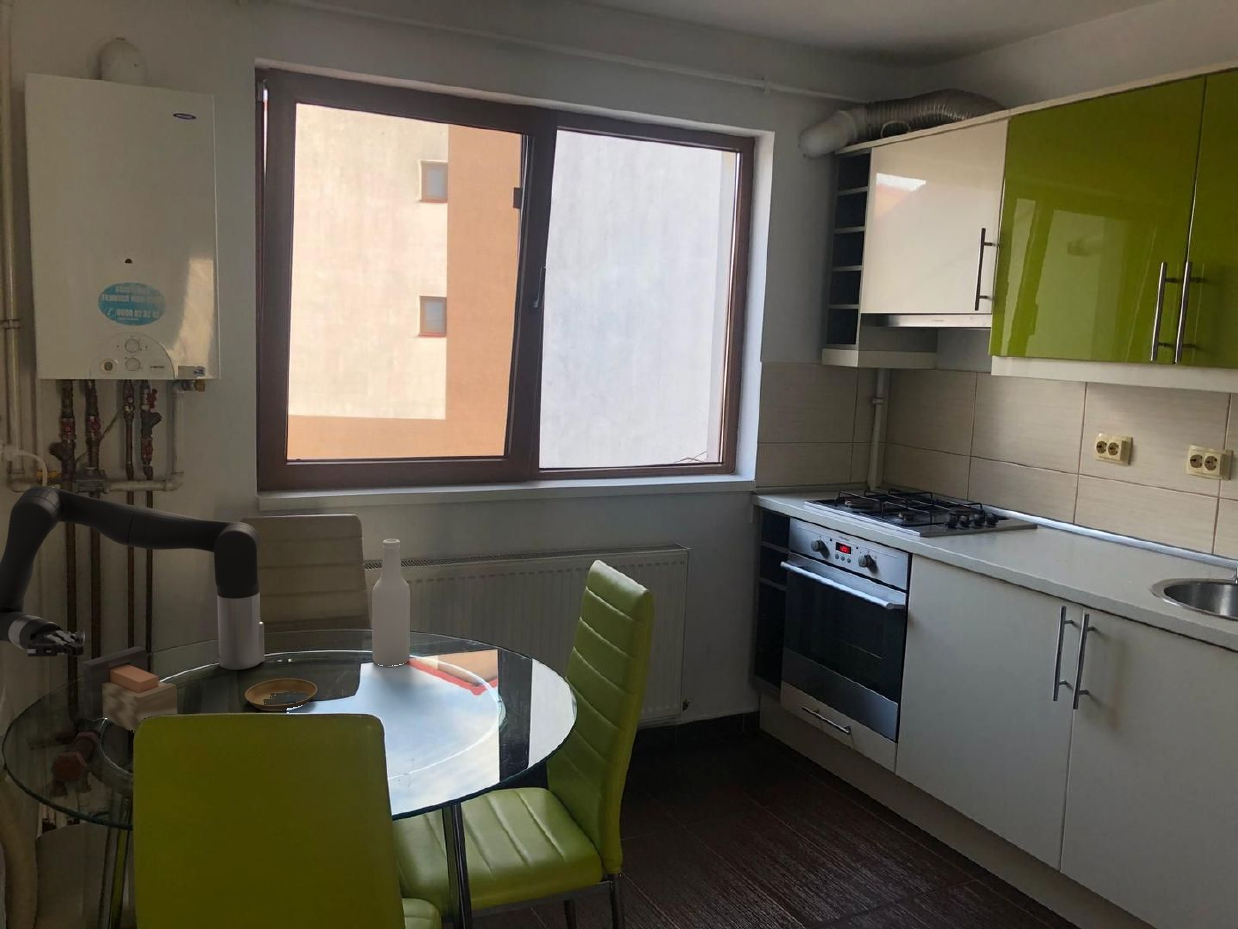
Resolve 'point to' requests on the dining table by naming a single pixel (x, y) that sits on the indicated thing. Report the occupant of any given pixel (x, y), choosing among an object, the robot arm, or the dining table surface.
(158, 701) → the frame
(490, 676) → the dining table surface
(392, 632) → the alcohol
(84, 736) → the bolt
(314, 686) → the plant saucer
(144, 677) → the peg
